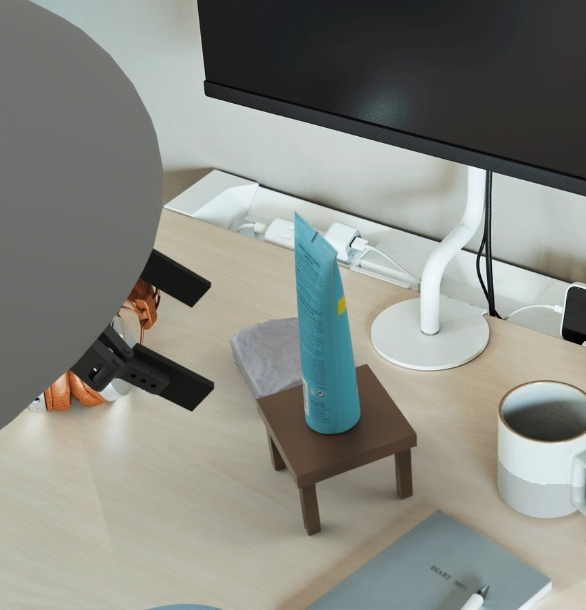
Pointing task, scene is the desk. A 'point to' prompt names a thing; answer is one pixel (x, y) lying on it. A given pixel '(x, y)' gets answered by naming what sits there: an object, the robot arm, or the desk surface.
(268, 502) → the desk surface
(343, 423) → the tube
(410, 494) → the stool
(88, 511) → the desk surface
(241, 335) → the stone block
